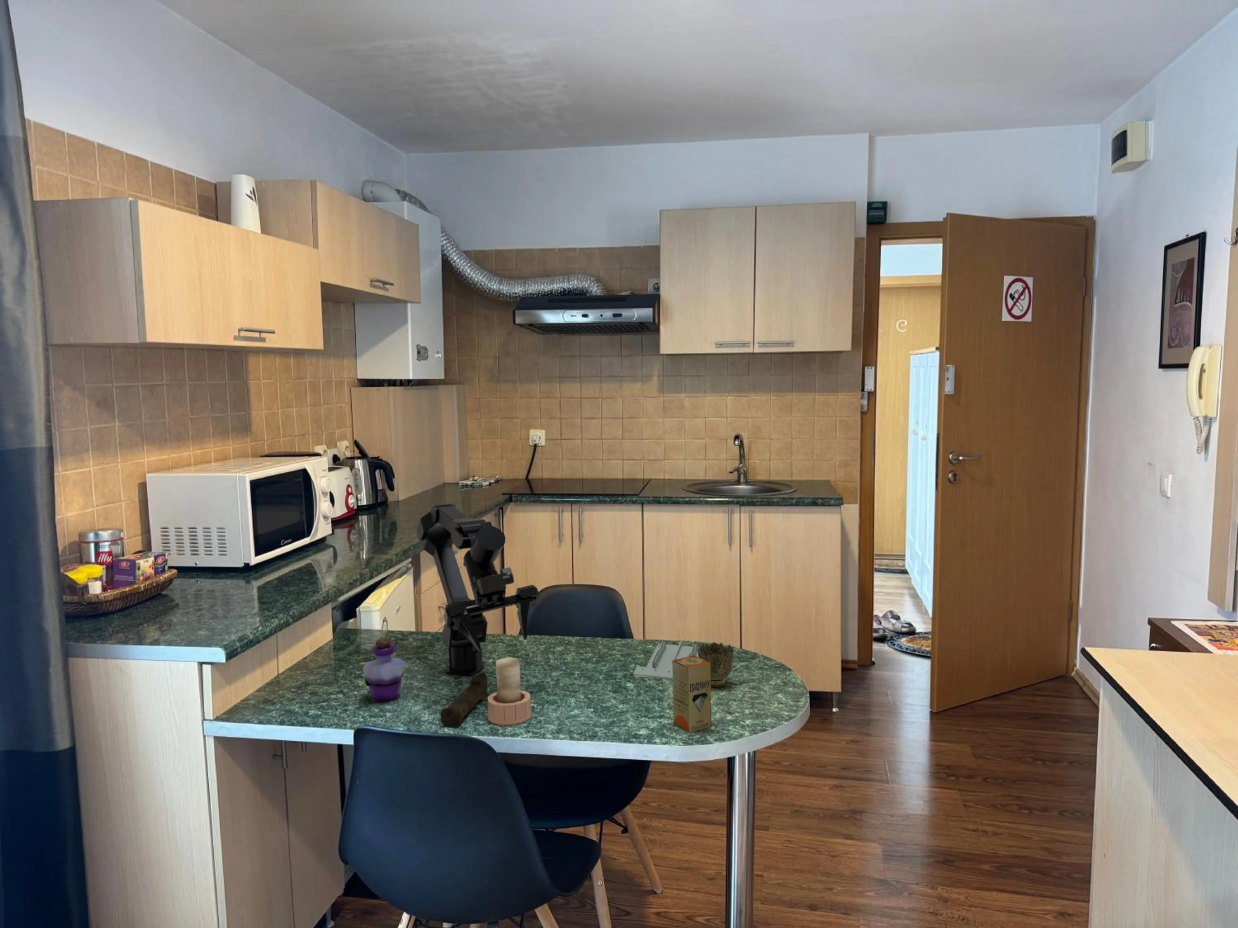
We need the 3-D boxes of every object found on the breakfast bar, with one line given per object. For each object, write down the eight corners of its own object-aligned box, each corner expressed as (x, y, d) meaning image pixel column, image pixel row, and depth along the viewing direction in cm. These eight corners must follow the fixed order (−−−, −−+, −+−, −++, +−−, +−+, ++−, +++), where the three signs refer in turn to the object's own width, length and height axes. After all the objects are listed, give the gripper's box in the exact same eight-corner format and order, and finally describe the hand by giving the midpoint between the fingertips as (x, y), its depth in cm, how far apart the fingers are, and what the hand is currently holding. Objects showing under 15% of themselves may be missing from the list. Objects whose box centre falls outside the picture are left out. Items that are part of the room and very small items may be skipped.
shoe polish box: (673, 723, 156) (672, 660, 155) (694, 717, 159) (694, 655, 158) (689, 732, 152) (688, 667, 151) (711, 726, 155) (710, 662, 153)
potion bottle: (361, 693, 175) (358, 637, 174) (404, 686, 178) (401, 631, 177) (366, 708, 167) (363, 649, 166) (411, 700, 170) (408, 642, 169)
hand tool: (460, 729, 156) (459, 705, 156) (440, 727, 157) (439, 703, 157) (499, 692, 175) (498, 670, 174) (480, 691, 176) (480, 669, 175)
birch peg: (493, 713, 161) (491, 662, 160) (509, 706, 164) (507, 655, 163) (510, 718, 158) (508, 666, 157) (526, 710, 162) (524, 659, 161)
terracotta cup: (479, 722, 159) (479, 702, 158) (501, 705, 166) (500, 687, 166) (518, 727, 156) (518, 707, 155) (538, 711, 163) (538, 691, 163)
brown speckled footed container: (690, 685, 175) (690, 648, 174) (712, 676, 180) (711, 639, 180) (720, 694, 170) (719, 655, 169) (741, 684, 175) (740, 646, 175)
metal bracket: (650, 634, 193) (714, 639, 188) (652, 655, 195) (716, 661, 190) (630, 670, 181) (698, 678, 175) (633, 693, 183) (701, 701, 177)
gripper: (438, 566, 163) (458, 641, 156) (531, 546, 170) (554, 617, 162) (436, 591, 172) (455, 662, 165) (524, 571, 179) (546, 639, 171)
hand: (503, 644), depth 166 cm, fingers open, 9 cm apart
